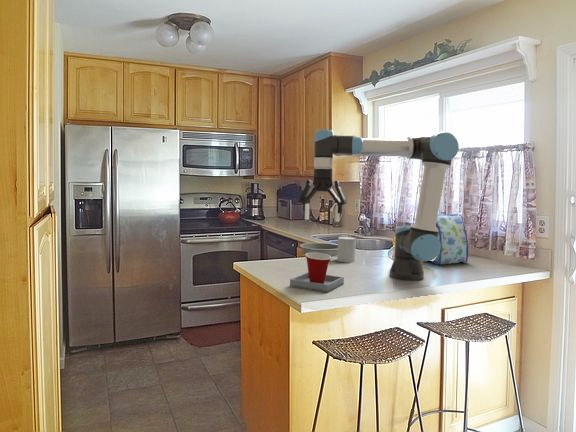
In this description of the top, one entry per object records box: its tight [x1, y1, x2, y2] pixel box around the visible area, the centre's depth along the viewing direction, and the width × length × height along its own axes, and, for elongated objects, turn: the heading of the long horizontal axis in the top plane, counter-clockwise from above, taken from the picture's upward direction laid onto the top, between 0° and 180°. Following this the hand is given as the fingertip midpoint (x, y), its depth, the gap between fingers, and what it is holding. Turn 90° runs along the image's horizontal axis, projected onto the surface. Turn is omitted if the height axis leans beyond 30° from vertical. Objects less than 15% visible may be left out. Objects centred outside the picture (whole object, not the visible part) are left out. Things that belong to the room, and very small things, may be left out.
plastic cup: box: [304, 253, 332, 284], centre depth 184 cm, size 11×11×12 cm
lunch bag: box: [432, 213, 469, 265], centre depth 242 cm, size 22×17×26 cm
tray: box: [289, 271, 345, 294], centre depth 184 cm, size 17×17×3 cm
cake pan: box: [299, 242, 338, 257], centre depth 261 cm, size 25×25×4 cm
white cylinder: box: [336, 236, 357, 263], centre depth 239 cm, size 10×10×12 cm
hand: (321, 220), depth 184 cm, fingers open, 13 cm apart
